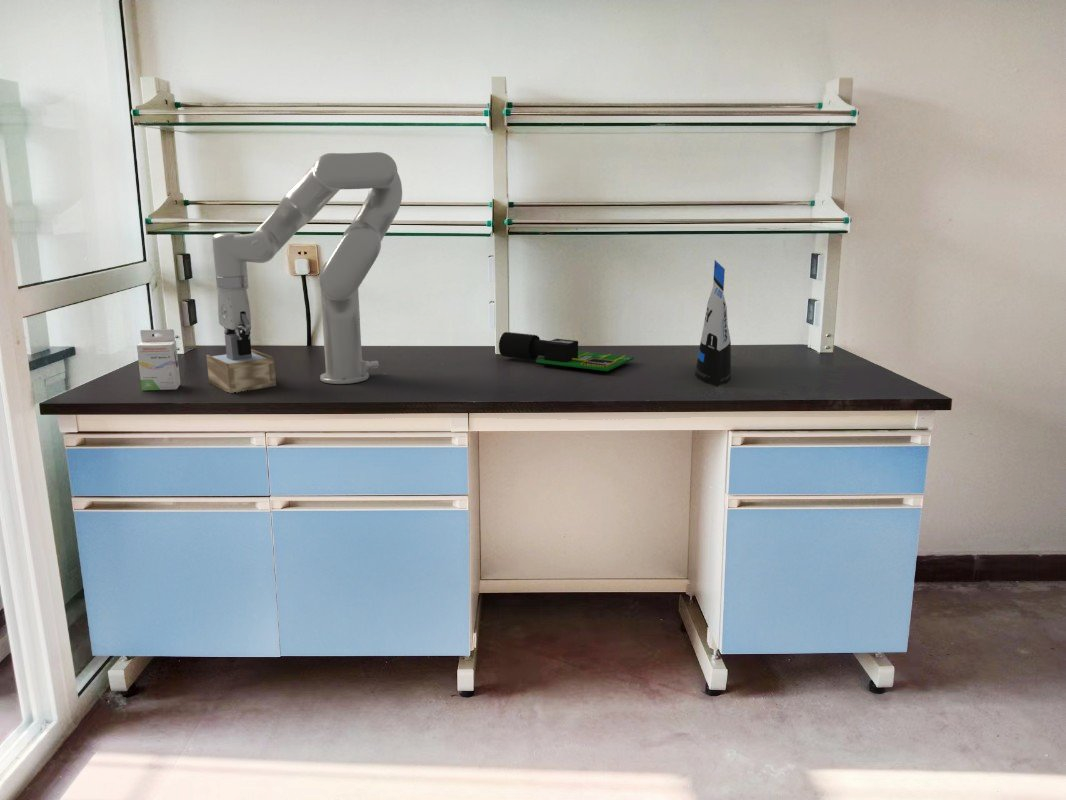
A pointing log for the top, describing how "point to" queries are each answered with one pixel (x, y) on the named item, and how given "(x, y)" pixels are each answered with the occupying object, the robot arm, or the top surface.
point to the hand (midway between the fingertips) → (238, 351)
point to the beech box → (242, 373)
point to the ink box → (158, 360)
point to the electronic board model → (556, 352)
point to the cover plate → (224, 358)
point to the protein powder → (715, 336)
